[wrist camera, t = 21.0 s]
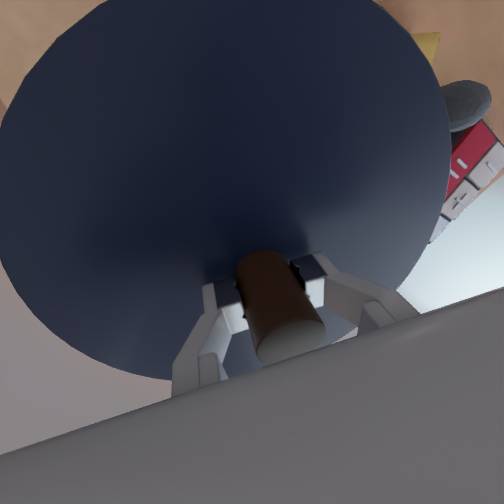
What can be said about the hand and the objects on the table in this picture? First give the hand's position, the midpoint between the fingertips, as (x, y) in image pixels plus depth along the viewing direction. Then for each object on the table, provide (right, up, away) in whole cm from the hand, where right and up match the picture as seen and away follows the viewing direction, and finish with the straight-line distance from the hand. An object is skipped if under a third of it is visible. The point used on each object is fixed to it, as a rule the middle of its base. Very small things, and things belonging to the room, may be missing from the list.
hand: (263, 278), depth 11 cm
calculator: (+26, +12, +24) cm, 37 cm away
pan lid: (0, +1, +1) cm, 1 cm away
